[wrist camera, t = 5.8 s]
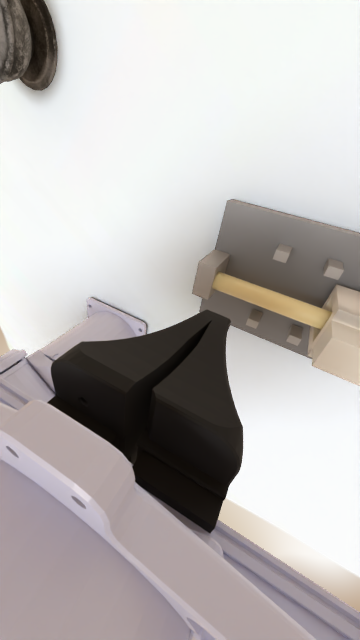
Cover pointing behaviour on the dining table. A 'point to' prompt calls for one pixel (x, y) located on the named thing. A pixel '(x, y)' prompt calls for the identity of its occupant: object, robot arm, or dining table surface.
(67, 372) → the robot arm
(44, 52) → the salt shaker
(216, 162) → the dining table surface
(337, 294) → the sleeve
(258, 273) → the comb rail
